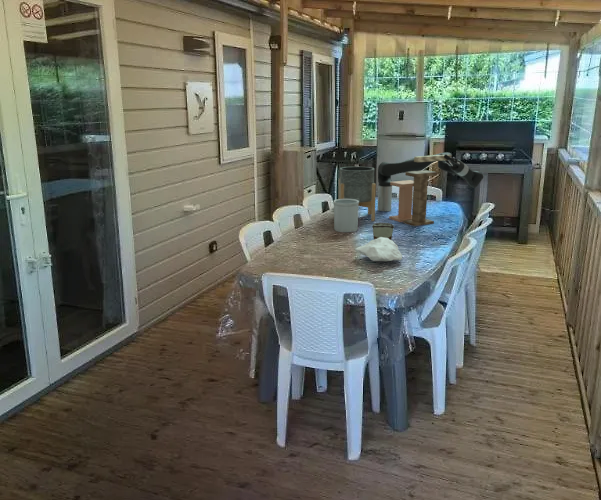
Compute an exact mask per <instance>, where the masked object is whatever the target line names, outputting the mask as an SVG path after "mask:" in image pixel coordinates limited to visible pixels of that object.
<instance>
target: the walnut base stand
mask: <svg viewBox="0 0 601 500" xmlns="http://www.w3.org/2000/svg"><path fill="white" fill-rule="evenodd" d="M404 174H405V175H404V176H407V177H412V178H413V181H414V185H413V193H412V214H411V215H412V220H406V221H403V222H402V223H403V224H405V225H408V226H411V227H418V226H425V225H434V223H435V221H434V220H431V219H428V218H427V201H428V188H429V187H428V184H429V177H435V176H438V172H437V171H431V170H427V169H423V170H421V171H412V172H406V173H404Z"/></svg>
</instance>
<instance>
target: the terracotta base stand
mask: <svg viewBox="0 0 601 500" xmlns="http://www.w3.org/2000/svg"><path fill="white" fill-rule="evenodd" d="M390 185H392V187H398V207H397V208H398V210H397V211H398V212H397V215H391V216H388V219H389V220H392V221H395V222H399V223H403V221H406V220H412V207H413V185H414V179H413V180H412V179H407V180H405V179H404V180H396V181H392V182H390Z"/></svg>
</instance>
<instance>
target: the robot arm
mask: <svg viewBox="0 0 601 500" xmlns="http://www.w3.org/2000/svg"><path fill="white" fill-rule="evenodd" d="M433 155H444V158H445V159H447V160H443V161H429V162H414V157H412V158H409V159H406V160H403V161H401V162H388V161H383V162H381V163H380V164H379V165H378V168H377V182H378V188H377V189H378V193H377V212H391V211H392V199H393V198H392V195H393V186H392V185H390V182H393V181H392V176H396V175H398V174H405V173H406V172H412V171H423V170H426V168H427V167H429V166H431V165H432V164H433V163H436V162H437V167H438V169H440V170H442V171H444V172H448V173H450V174H454V175H456V176H457V177H460V178H461V179H462V180H464V181H466V183H467V184H468V186H470V187H471V188H477V187H478V186H479V185H480V183H481V182H482V180H483V179H484V174H483V173H482V172H480V171H477V170H473V169H471V168H470V167H469V166H468V165H467V164H466V163H464V162H463V161H461V160H460V159H456V158H454V157H453V155H452V153H451V152H440V153H437V154H433ZM433 155H432V154H431V155H430V156H433ZM448 155H451V157H449V156H448Z"/></svg>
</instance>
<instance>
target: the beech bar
mask: <svg viewBox="0 0 601 500" xmlns="http://www.w3.org/2000/svg"><path fill="white" fill-rule="evenodd" d="M448 156H449V157H451V155H448ZM413 158H414V162H429V161H436V162H438V161H443V160H447V159H445V158H444V155H435V154H433V156H431V155H422V156H421V155H420V156H414V157H413Z"/></svg>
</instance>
